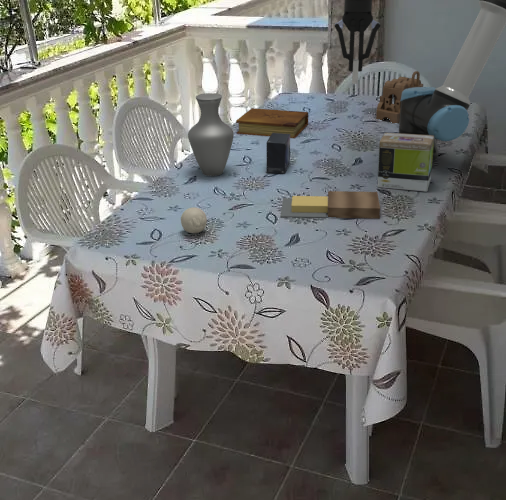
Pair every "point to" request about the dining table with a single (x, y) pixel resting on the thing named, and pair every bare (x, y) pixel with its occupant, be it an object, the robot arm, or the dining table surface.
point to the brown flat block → (353, 204)
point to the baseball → (193, 220)
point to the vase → (210, 136)
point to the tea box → (405, 161)
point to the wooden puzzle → (395, 97)
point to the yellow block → (310, 204)
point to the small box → (278, 153)
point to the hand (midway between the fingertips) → (354, 82)
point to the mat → (287, 212)
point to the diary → (272, 122)
